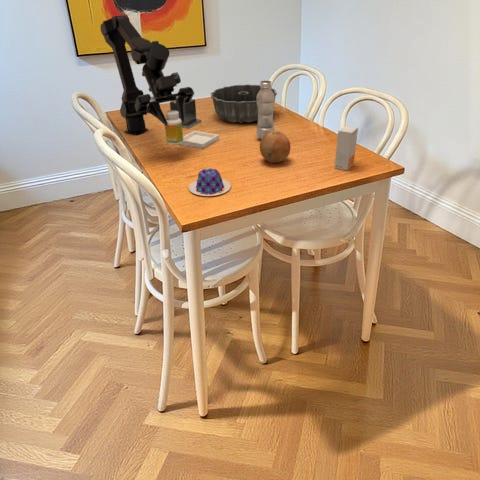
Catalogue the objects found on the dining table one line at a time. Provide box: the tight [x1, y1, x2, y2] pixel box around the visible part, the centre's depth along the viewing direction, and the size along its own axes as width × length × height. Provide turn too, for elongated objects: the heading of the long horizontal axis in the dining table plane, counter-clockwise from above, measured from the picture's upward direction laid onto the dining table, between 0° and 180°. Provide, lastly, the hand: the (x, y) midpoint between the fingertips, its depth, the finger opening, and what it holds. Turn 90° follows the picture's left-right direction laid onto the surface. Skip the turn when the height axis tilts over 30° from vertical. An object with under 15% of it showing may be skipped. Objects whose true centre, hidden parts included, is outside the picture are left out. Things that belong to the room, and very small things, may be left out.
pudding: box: [188, 168, 232, 197], centre depth 129 cm, size 12×12×5 cm
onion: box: [259, 130, 291, 164], centre depth 144 cm, size 10×10×10 cm
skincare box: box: [334, 125, 359, 171], centre depth 138 cm, size 6×4×12 cm
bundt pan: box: [210, 84, 278, 124], centre depth 184 cm, size 26×26×10 cm
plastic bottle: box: [255, 80, 276, 141], centre depth 158 cm, size 6×7×20 cm
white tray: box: [177, 130, 220, 150], centre depth 162 cm, size 11×11×2 cm
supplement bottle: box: [164, 110, 184, 146], centre depth 145 cm, size 5×5×10 cm
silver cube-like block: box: [169, 98, 202, 129], centre depth 179 cm, size 10×9×9 cm
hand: (175, 123), depth 143 cm, fingers closed on supplement bottle, 5 cm apart
